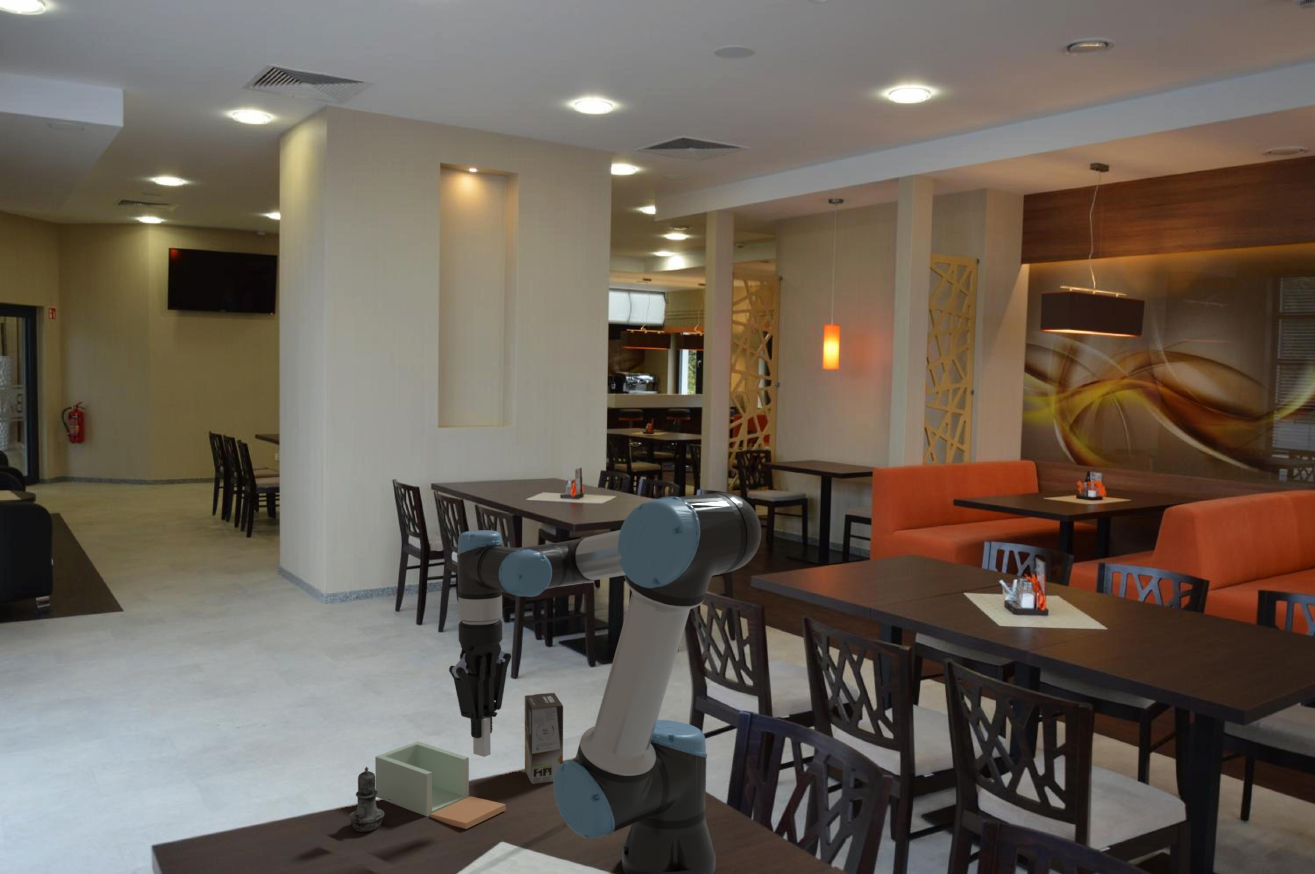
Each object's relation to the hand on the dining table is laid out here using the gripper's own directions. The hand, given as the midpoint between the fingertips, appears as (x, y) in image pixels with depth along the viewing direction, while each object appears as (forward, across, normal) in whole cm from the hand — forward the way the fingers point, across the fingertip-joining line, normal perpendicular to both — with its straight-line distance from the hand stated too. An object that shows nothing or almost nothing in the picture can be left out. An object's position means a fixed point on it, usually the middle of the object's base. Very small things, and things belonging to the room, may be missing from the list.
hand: (482, 753), depth 173 cm
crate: (+13, 0, -16) cm, 20 cm away
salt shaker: (+13, +14, -14) cm, 24 cm away
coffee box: (+13, -22, -6) cm, 26 cm away
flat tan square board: (+12, 0, -8) cm, 14 cm away
